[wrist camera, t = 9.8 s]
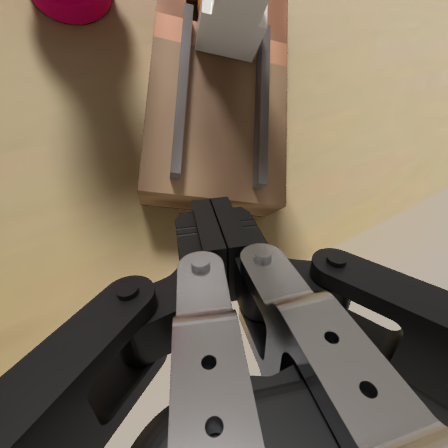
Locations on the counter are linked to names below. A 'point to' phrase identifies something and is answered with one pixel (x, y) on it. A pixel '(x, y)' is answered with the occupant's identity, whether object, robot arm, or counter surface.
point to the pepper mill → (74, 10)
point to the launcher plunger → (231, 27)
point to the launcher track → (214, 117)
